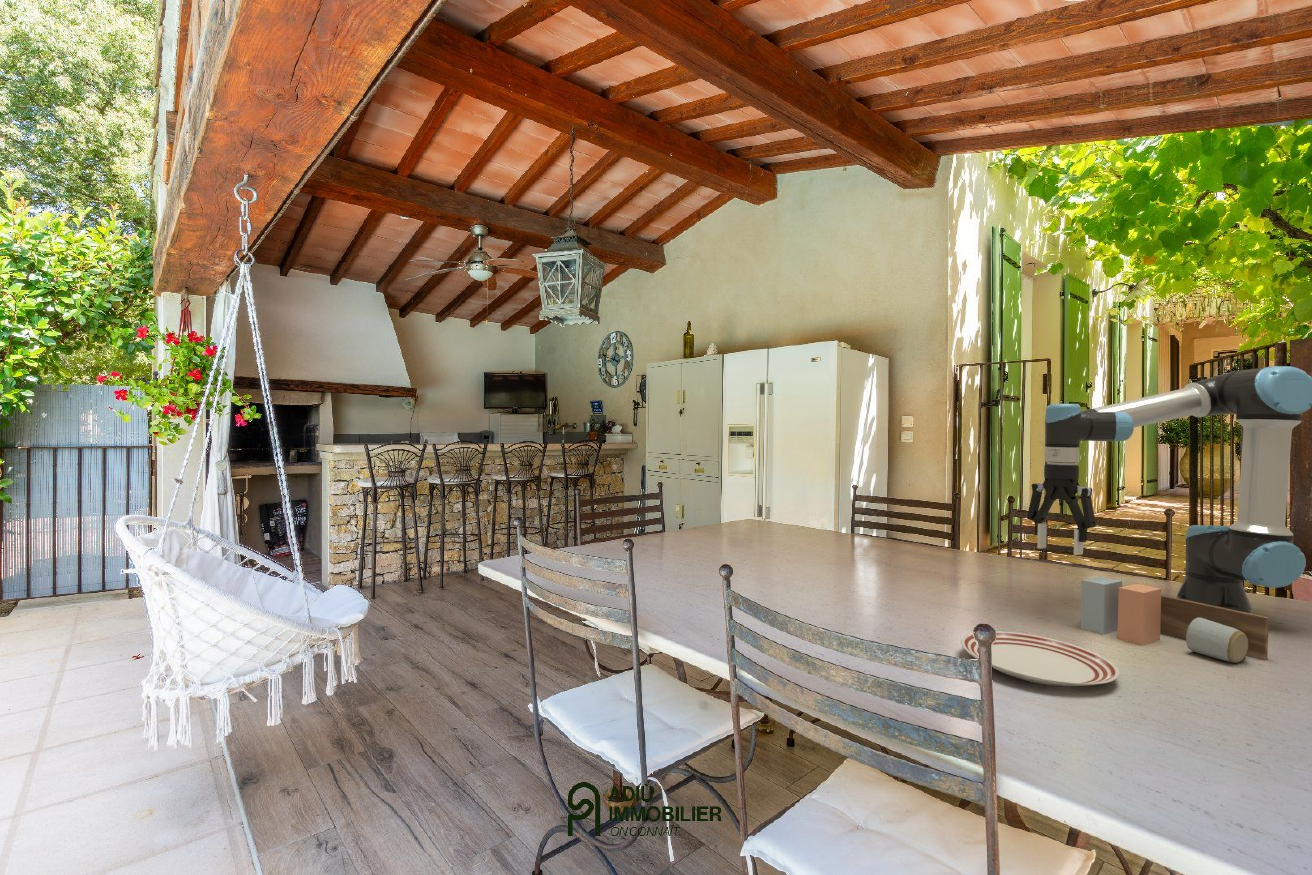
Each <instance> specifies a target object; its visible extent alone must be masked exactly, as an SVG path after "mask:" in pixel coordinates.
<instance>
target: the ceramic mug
mask: <svg viewBox="0 0 1312 875" xmlns="http://www.w3.org/2000/svg"><path fill="white" fill-rule="evenodd" d="M1185 642H1186V647H1187V648H1188V650H1190V651H1191V652H1192V653H1196V654H1199V655H1202V656H1206V657H1211V658H1214V659H1216V660H1221V661H1223V662H1228V663H1233V664H1234V663H1236V664H1237V663H1240V662H1241V661H1243V660H1244V658H1245V657H1246V656H1247V655H1246V653H1247V650H1248V639H1247V637H1246V635H1245V634H1244V633H1243V632H1241V631H1239V630H1237V629H1235V628H1232V627H1229V626H1225V625H1222V624H1219V623H1216V622H1213V621H1210V620H1207V619H1204V618H1195V619H1194V620H1193V621H1192V622H1191V623H1190V625H1189V627H1188V629H1187V634H1186V640H1185Z"/></svg>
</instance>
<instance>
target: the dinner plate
mask: <svg viewBox="0 0 1312 875" xmlns="http://www.w3.org/2000/svg"><path fill="white" fill-rule="evenodd" d="M995 631H996V634H997V637H996V642H994V644H993V645H992V667H993V668H992V667H991V668H992V669H994V670H996V671H997V672H1000V673H1002V674H1004V675H1007V676H1010V677H1012V678H1016V679H1018V680H1022V681H1027V682H1030V683H1034V684H1038V685H1045V686H1053V687H1085V686H1086V687H1087V686H1088V687H1089V686H1095V685H1102V684H1104V685H1105V684H1108V683H1111V682H1114V681H1116V680H1117V679H1118V678H1119V677H1120V670H1119V668H1118V667H1117V666H1116V665H1115V664H1114V663H1113V662H1111V660H1109V659H1107V658H1105V657H1103V656H1101V655H1100V654H1098V653H1096V652H1094V651H1091V650H1089V649H1087V648H1083V647H1081V646H1078V645H1076V644H1073V643H1069V642H1065V641H1061V640H1059V639H1054V638H1049V637H1046V636H1040V635H1035V634H1031V633H1030V634H1029V633H1025V632H1024V633H1021V632H1012V631H1003V630H1002V631H1000V630H999V631H998V630H995ZM973 633H974V632H971V633H970V632H969V634H966V635H964V636H963V637H962V639H961V640H960V644H961V646H962V648H963V649H964V650H965V651H966V653H968V654H969V655H970V656H971V657H973V658H974V659H976V660H977V659H978V658H979V647H978V646H977V644H976V642H975V639H974V637H973Z"/></svg>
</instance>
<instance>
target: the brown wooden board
mask: <svg viewBox="0 0 1312 875" xmlns="http://www.w3.org/2000/svg"><path fill="white" fill-rule="evenodd" d="M1195 618H1204V619H1207V620H1210V621H1213V622H1216V623H1219V624H1222V625H1225V626H1229V627H1232V628H1235V629H1237V630H1239V631H1241V632H1243V633H1244V634H1245V635H1246V637H1247V639H1248V650H1247V653H1246V655H1245V656H1247V657H1252V658H1256V659H1259V660H1262V661H1263V660H1264V661H1267V660H1268V658H1269V657H1268V652H1269V648H1268V647H1269V622H1270V621H1269V616H1264V615H1260V614H1256V613H1252V612H1251V613H1246V612H1241V611H1236V610H1231V609H1227V608H1222V607H1217V606H1212V605H1207V604H1203V603H1198V602H1193V601H1188V600H1183V599H1178V598H1176V597H1173V596H1168V595H1163V594H1161V621H1160V635H1163V636H1169V637H1173V638H1177V639H1180V640H1185V641H1186V634H1187V629H1188V627H1189V625H1190V623H1191V622H1192V621H1193V620H1194V619H1195Z"/></svg>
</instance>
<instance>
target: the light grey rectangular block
mask: <svg viewBox="0 0 1312 875" xmlns="http://www.w3.org/2000/svg"><path fill="white" fill-rule="evenodd" d="M1120 587H1123V581H1122V580H1119V579H1114V578H1108V577H1103V576H1100V575H1099V576H1095V577H1090V578H1084V579H1081V593H1080V594H1081V596H1080V597H1081V600H1080V629H1081V630H1084V631H1089V632H1092V633H1096V634H1100V635H1102V636H1104V635H1107V634H1110V633H1114V632H1118V603H1119V588H1120Z"/></svg>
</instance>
